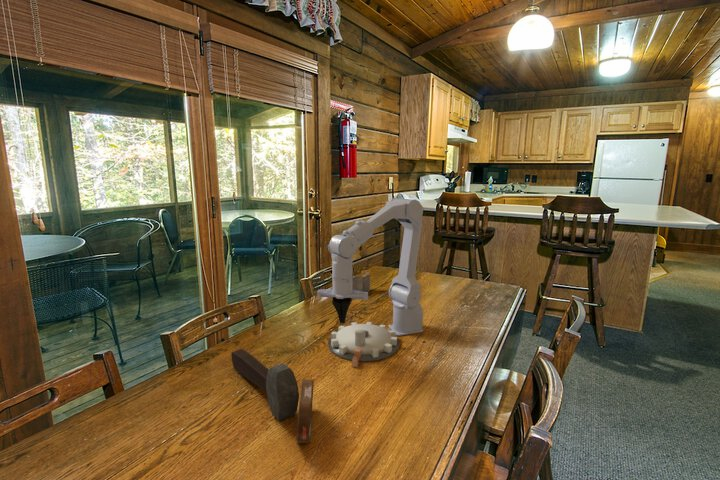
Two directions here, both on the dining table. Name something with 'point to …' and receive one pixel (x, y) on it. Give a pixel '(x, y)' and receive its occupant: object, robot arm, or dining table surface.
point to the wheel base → (363, 358)
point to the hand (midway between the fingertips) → (342, 321)
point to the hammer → (270, 383)
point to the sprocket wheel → (363, 339)
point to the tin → (305, 412)
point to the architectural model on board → (361, 282)
